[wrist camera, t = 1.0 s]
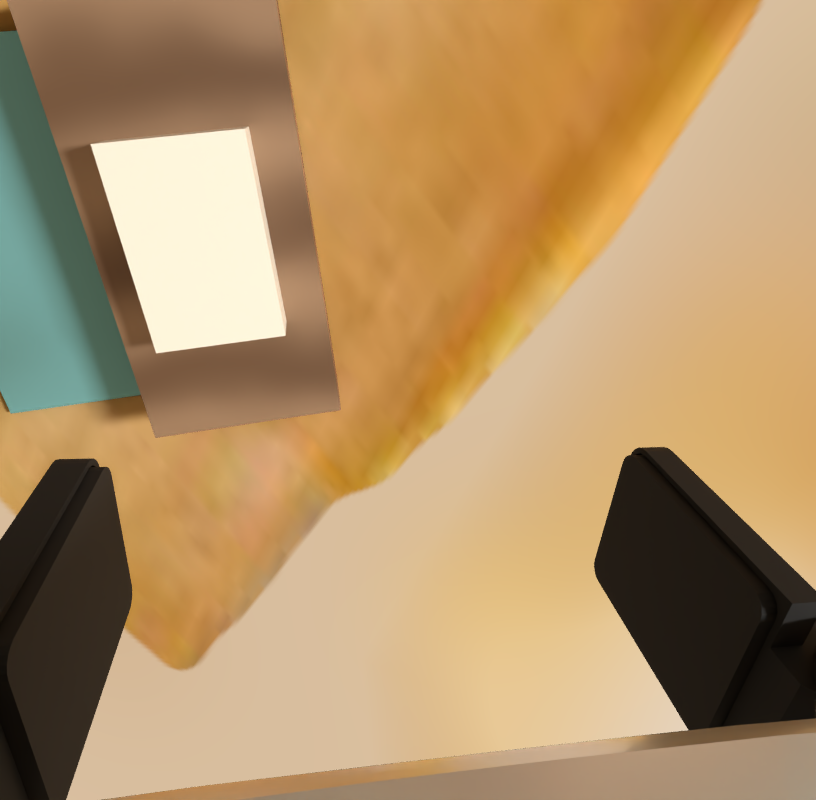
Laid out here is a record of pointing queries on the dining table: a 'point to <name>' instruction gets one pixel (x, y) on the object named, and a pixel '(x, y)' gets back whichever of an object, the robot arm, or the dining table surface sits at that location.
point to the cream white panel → (194, 236)
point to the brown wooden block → (180, 113)
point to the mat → (47, 266)
